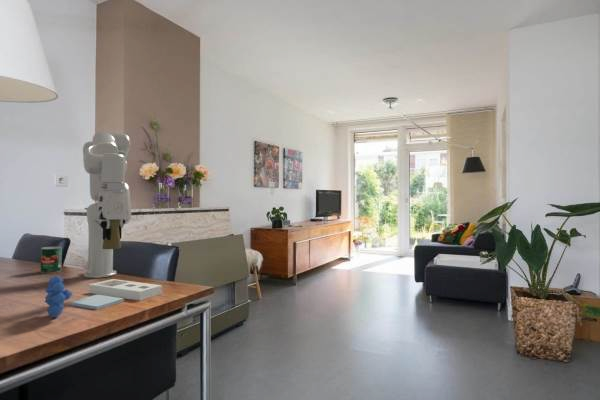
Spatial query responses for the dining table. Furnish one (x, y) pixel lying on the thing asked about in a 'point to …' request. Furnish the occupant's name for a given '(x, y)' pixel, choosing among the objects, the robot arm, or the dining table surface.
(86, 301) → the rubber mat
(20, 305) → the dining table surface
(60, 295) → the grapes
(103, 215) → the robot arm
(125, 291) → the white board with cutout
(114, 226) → the olive rounded piece
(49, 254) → the canned tomato
